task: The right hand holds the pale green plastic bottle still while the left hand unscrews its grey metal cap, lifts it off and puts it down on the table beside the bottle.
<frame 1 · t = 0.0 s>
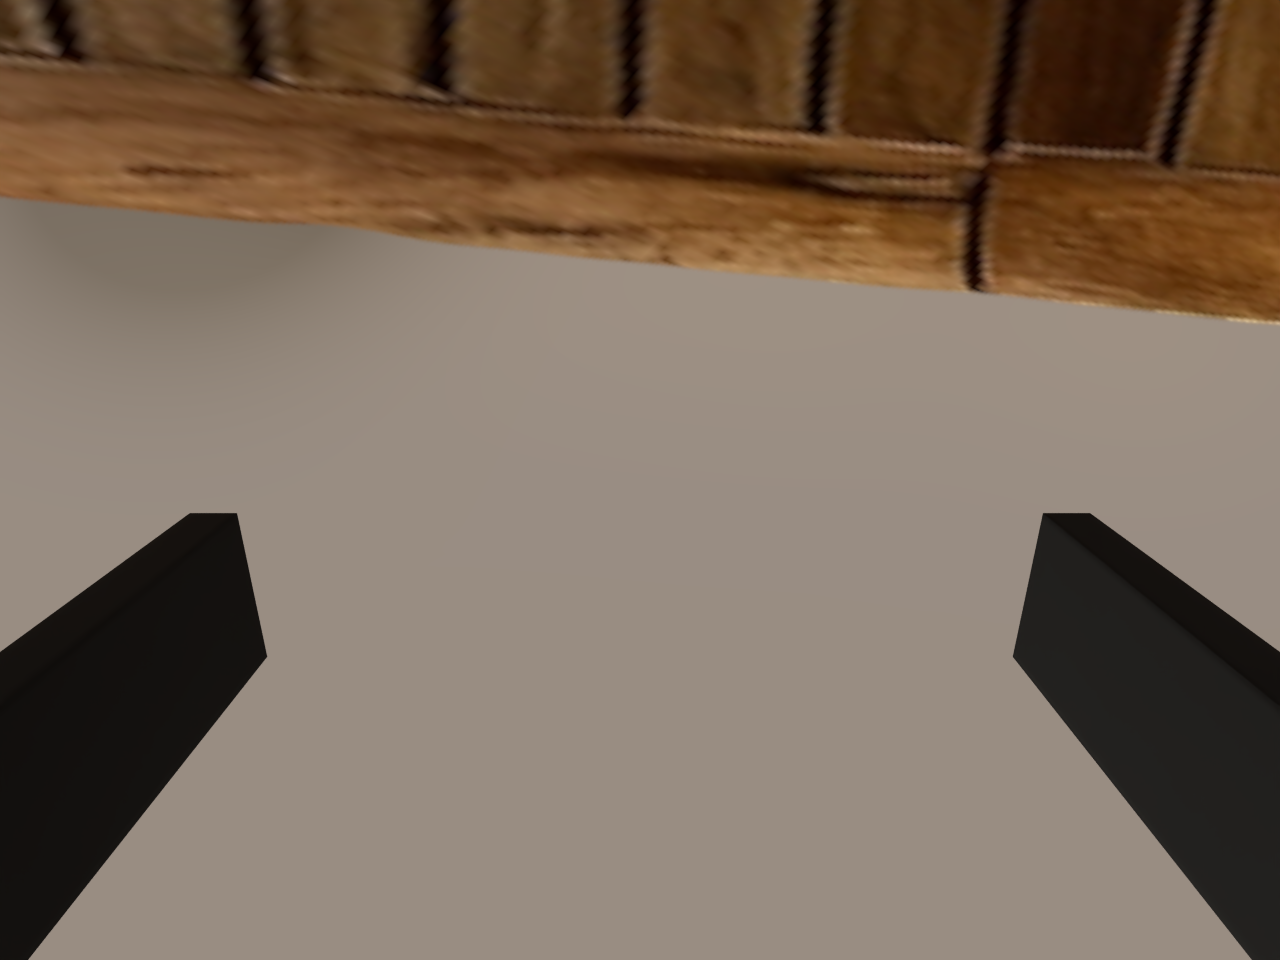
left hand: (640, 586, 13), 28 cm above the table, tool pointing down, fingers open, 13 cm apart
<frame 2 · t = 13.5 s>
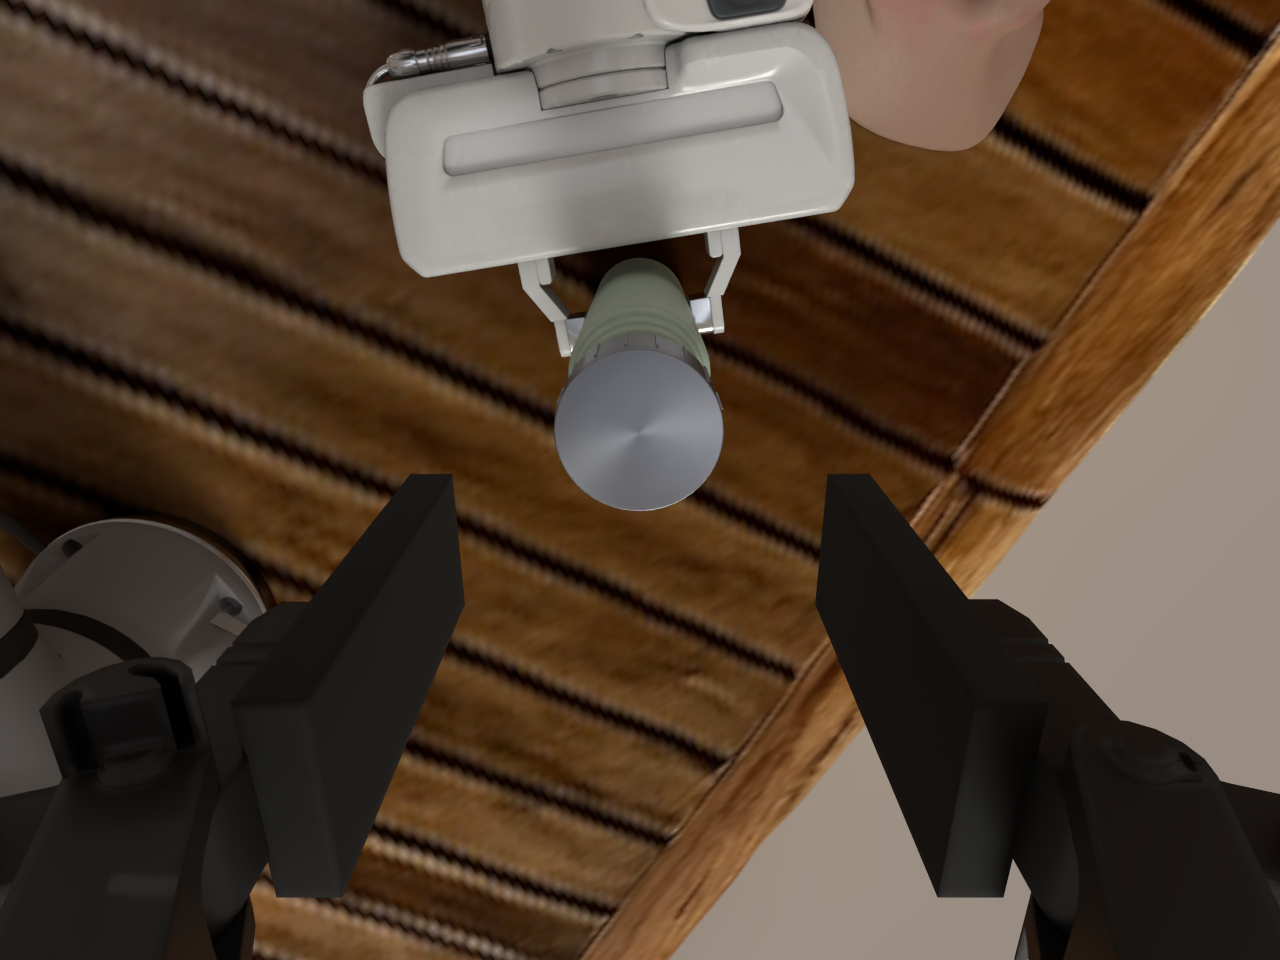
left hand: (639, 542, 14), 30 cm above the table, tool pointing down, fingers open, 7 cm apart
right hand: (643, 343, 37), fingers closed on bottle, 5 cm apart
anatomical model: (923, 6, 37), on the table
cap: (638, 430, 21), point 23 cm above the table, screwed on, not yet turned
bottle: (639, 303, 42), on the table, touching right hand
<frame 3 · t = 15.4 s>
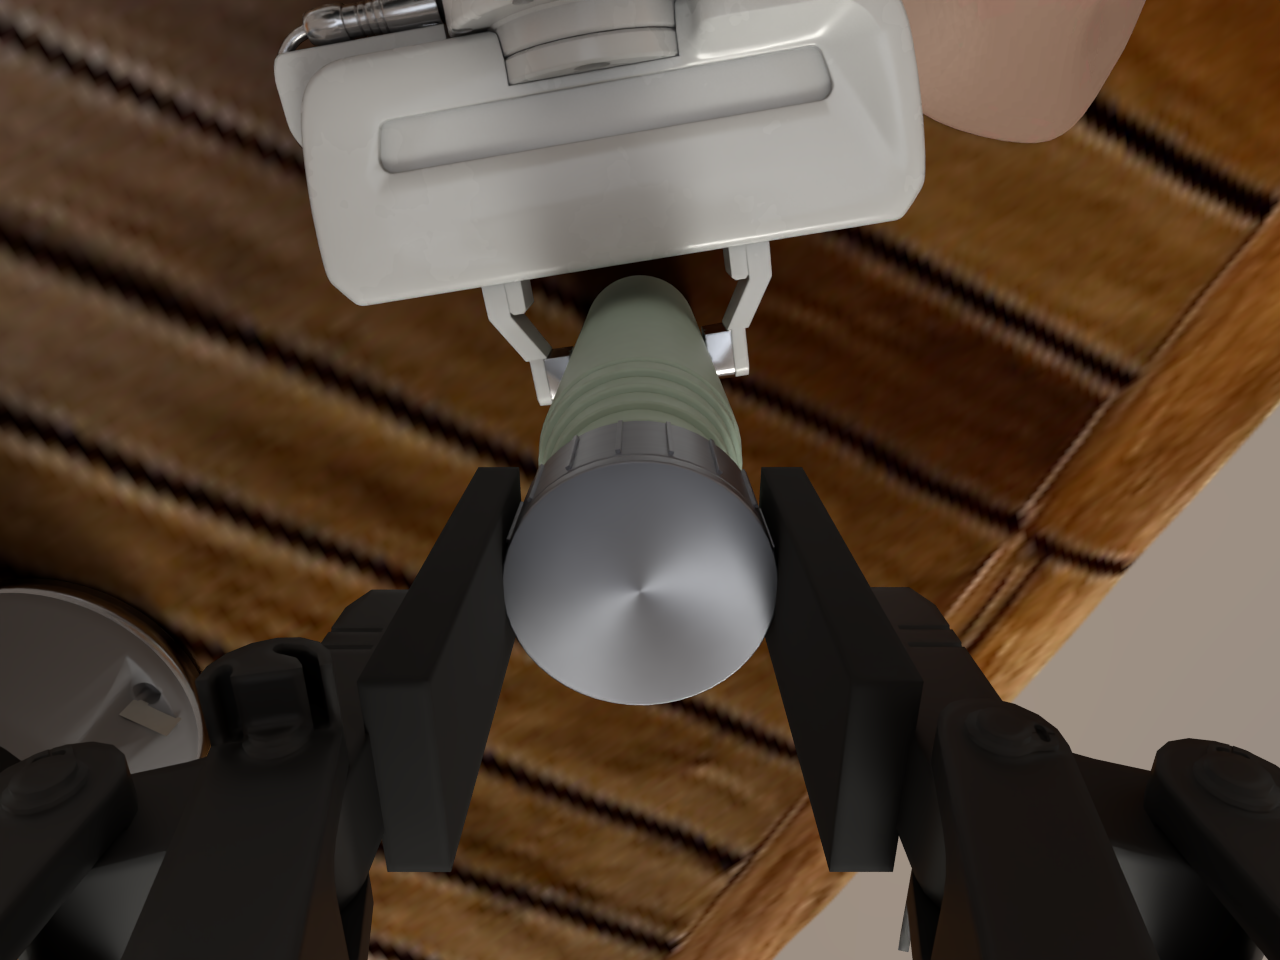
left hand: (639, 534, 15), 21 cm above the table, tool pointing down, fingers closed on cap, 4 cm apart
right hand: (645, 387, 29), fingers closed on bottle, 5 cm apart
cap: (640, 582, 13), point 23 cm above the table, screwed on, not yet turned, touching left hand
bottle: (640, 331, 35), on the table, touching right hand
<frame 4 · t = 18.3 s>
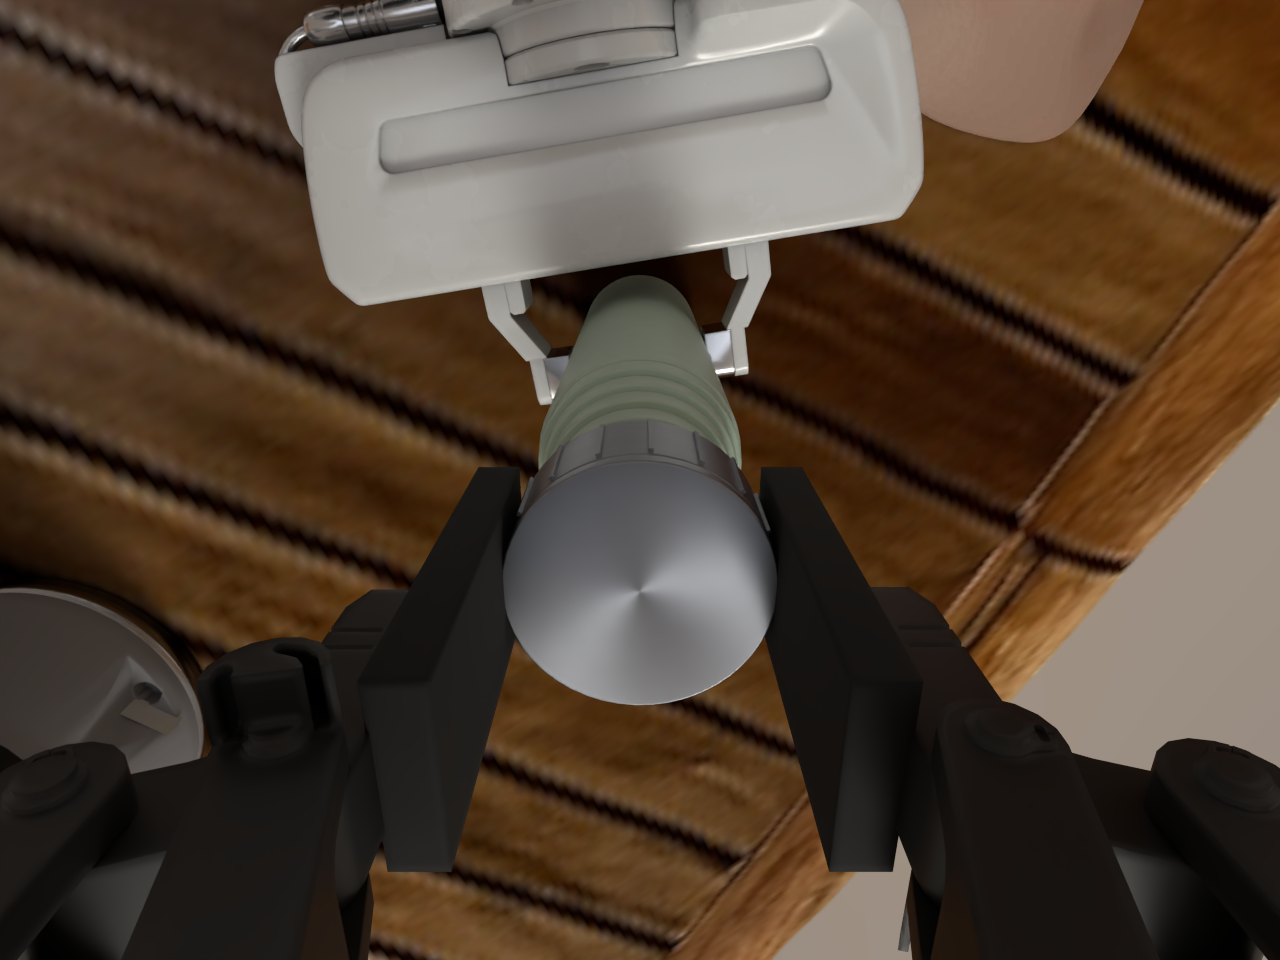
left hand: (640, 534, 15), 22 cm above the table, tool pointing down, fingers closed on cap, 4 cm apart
right hand: (644, 386, 29), fingers closed on bottle, 5 cm apart
cap: (639, 582, 13), point 23 cm above the table, turned 93° so far, risen 0.1 cm, still on its thread, touching left hand
bottle: (640, 331, 35), on the table, touching right hand
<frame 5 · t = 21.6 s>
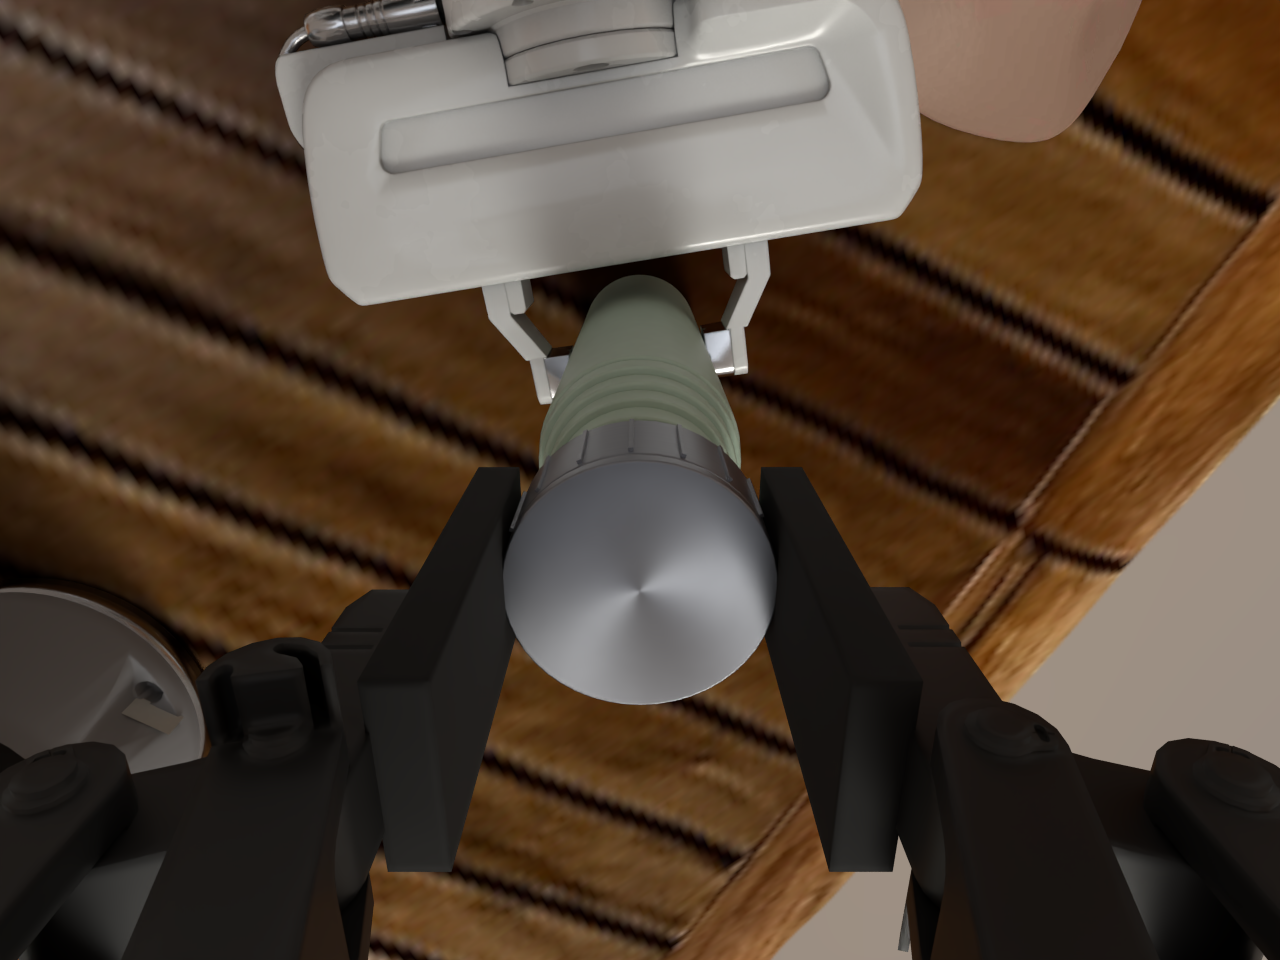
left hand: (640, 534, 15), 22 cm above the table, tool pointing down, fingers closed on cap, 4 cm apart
right hand: (644, 385, 29), fingers closed on bottle, 5 cm apart
cap: (639, 582, 13), point 24 cm above the table, turned 185° so far, risen 0.2 cm, still on its thread, touching left hand
bottle: (639, 330, 35), on the table, touching right hand
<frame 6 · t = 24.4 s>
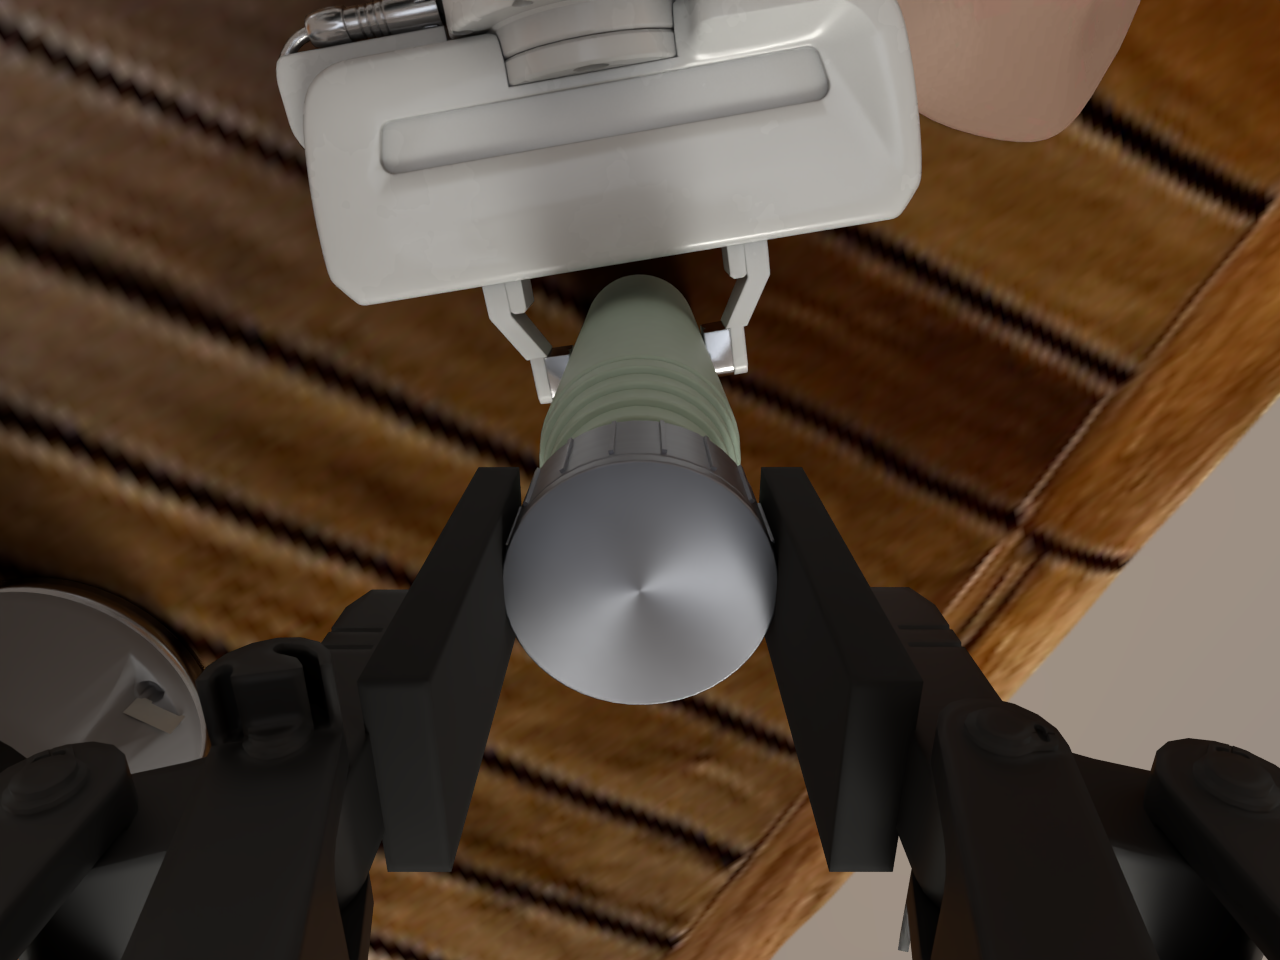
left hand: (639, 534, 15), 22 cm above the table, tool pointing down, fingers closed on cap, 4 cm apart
right hand: (644, 385, 29), fingers closed on bottle, 5 cm apart
cap: (640, 582, 13), point 24 cm above the table, turned 278° so far, risen 0.2 cm, still on its thread, touching left hand
bottle: (639, 330, 35), on the table, touching right hand
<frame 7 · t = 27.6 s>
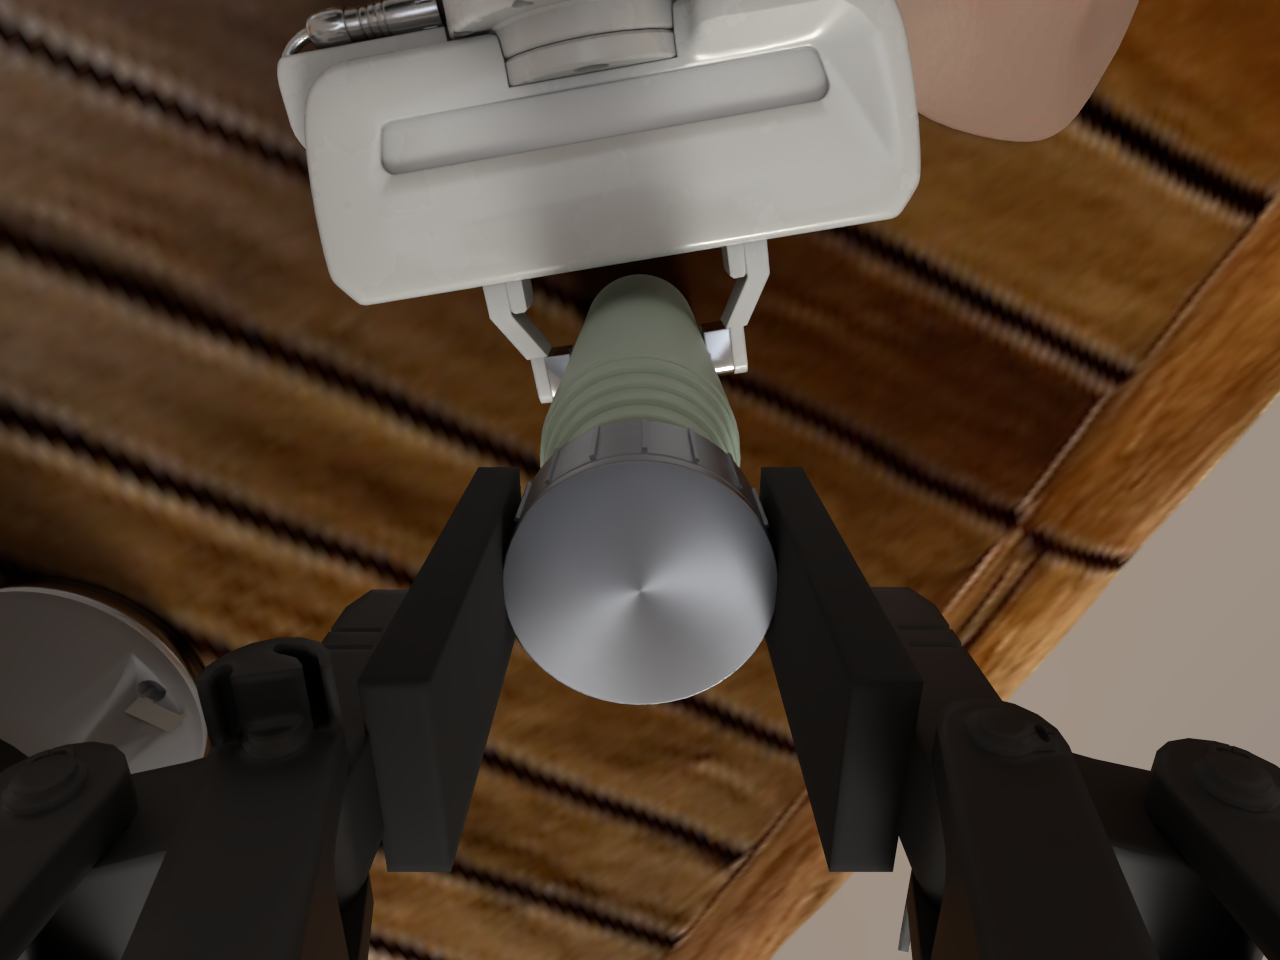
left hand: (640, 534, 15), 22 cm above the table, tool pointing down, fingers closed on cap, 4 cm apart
right hand: (644, 384, 29), fingers closed on bottle, 5 cm apart
cap: (640, 582, 13), point 24 cm above the table, turned 370° so far, risen 0.3 cm, still on its thread, touching left hand
bottle: (640, 329, 35), on the table, touching right hand
when the left hand's fingers open (1 cm above the table, at t = 34.7 s): cap drops 1 cm, point 2 cm above the table.
when the right hand's fingers open (7 cm above the table, at t = 35.9 s): bottle stays where it is, on the table.
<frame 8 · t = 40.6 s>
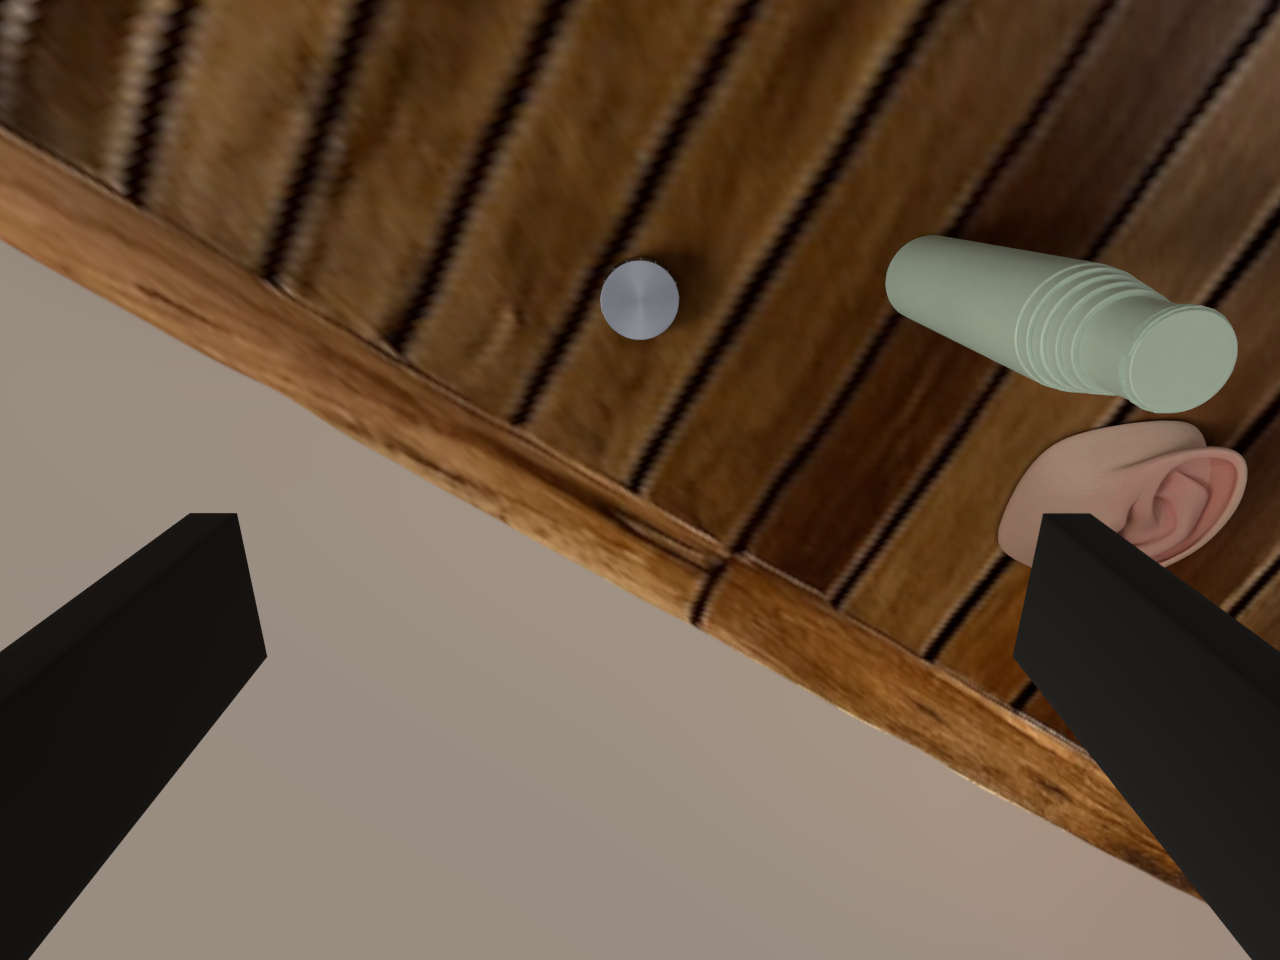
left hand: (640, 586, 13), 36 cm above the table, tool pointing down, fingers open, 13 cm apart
anatomical model: (1099, 501, 51), on the table
cap: (639, 300, 44), point 2 cm above the table, off its thread
bottle: (926, 278, 46), on the table
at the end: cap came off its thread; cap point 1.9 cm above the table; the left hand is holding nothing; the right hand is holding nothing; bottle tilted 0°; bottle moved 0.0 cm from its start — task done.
